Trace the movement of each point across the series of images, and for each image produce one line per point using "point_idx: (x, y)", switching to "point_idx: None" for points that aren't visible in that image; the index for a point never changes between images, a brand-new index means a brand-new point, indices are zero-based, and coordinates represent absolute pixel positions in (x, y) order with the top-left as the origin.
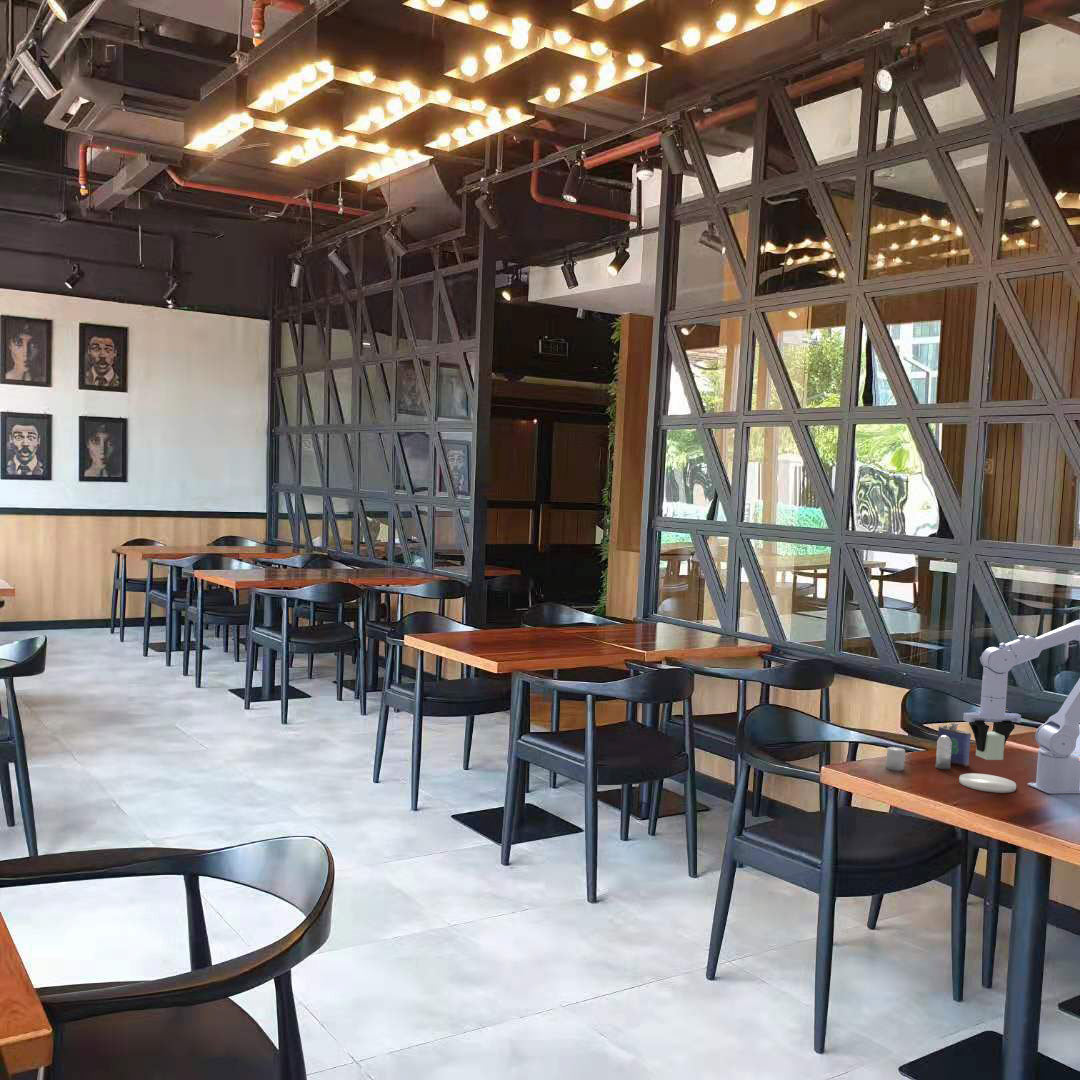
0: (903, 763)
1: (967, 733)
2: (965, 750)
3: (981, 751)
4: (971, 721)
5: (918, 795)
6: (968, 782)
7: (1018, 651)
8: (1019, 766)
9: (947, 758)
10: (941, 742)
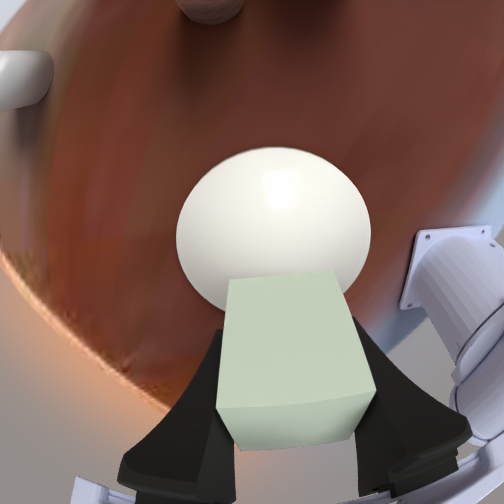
0: (32, 93)
1: None
2: None
3: None
4: (128, 495)
5: (66, 326)
6: (187, 277)
7: None
8: (500, 38)
9: (209, 8)
10: None
